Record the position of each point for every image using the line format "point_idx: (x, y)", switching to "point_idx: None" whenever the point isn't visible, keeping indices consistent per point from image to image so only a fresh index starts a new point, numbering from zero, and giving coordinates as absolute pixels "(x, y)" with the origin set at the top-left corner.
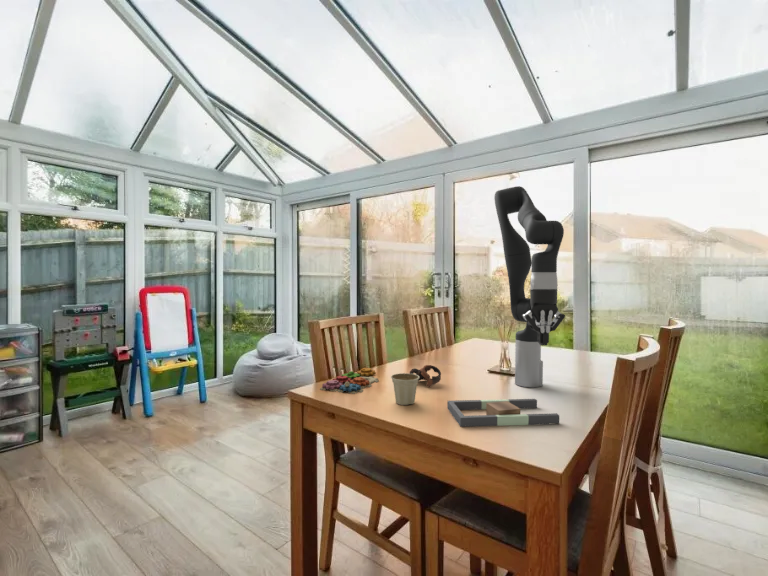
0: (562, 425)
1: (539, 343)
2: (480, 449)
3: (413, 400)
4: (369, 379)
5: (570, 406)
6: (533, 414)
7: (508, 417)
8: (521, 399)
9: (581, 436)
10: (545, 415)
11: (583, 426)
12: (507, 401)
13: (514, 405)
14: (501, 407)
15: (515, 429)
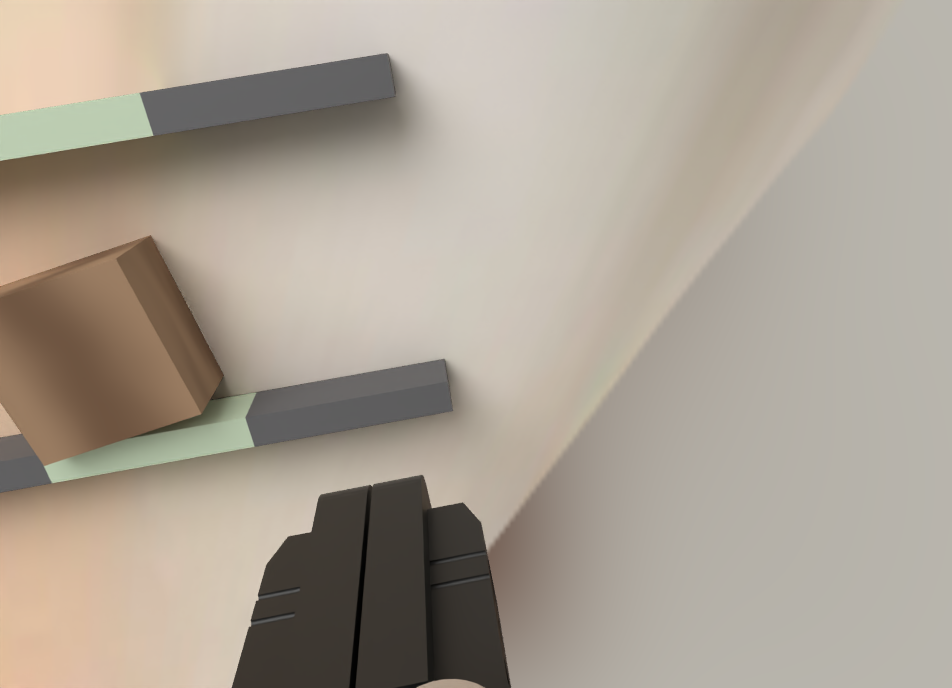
0: (460, 403)
1: (322, 506)
2: None
3: None
4: None
5: (670, 27)
6: (291, 418)
7: (126, 467)
8: (263, 87)
9: (499, 525)
10: (363, 426)
11: (571, 404)
12: (116, 267)
13: (165, 352)
14: (66, 404)
15: (181, 487)
